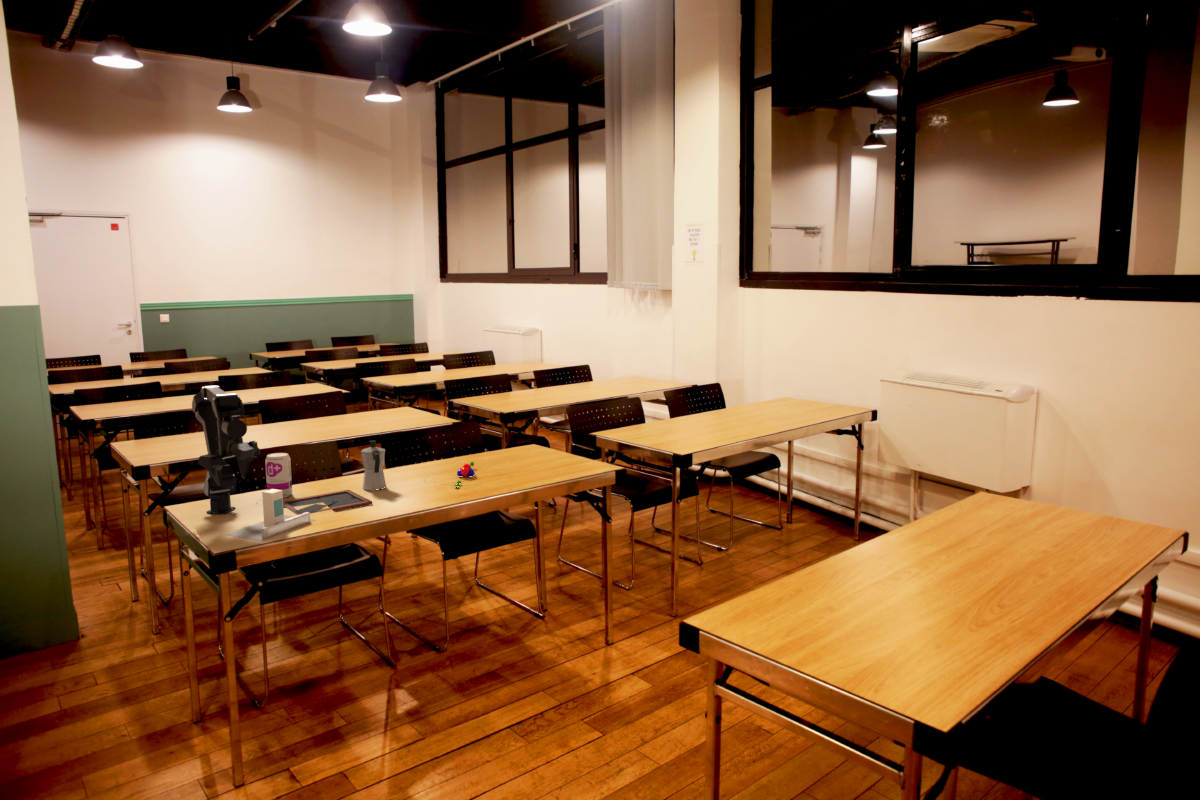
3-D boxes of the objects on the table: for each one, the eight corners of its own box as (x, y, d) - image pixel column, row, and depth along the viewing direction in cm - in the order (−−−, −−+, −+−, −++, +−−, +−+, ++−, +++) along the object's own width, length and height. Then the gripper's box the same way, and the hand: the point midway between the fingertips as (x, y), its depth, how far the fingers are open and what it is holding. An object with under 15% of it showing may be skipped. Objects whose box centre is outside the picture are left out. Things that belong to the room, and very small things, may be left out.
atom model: (502, 493, 283) (502, 479, 282) (410, 488, 283) (410, 474, 282) (514, 467, 317) (514, 454, 316) (433, 463, 317) (433, 450, 316)
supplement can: (283, 499, 267) (281, 457, 265) (262, 498, 268) (260, 456, 266) (297, 493, 275) (294, 453, 272) (276, 492, 276) (274, 451, 274)
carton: (264, 528, 231) (262, 491, 230) (274, 524, 235) (272, 488, 233) (274, 530, 230) (272, 493, 228) (284, 526, 234) (282, 490, 232)
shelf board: (225, 537, 226) (225, 534, 225) (282, 517, 246) (282, 514, 246) (260, 544, 220) (260, 540, 220) (315, 523, 240) (315, 520, 240)
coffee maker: (359, 485, 286) (357, 438, 284) (382, 482, 290) (381, 436, 288) (366, 494, 273) (364, 445, 271) (391, 492, 277) (389, 443, 275)
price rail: (261, 538, 223) (261, 528, 222) (307, 521, 239) (306, 511, 239) (265, 538, 222) (264, 528, 222) (310, 521, 238) (310, 512, 238)
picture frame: (298, 520, 245) (372, 506, 261) (298, 514, 245) (372, 500, 261) (278, 506, 260) (348, 494, 276) (277, 501, 260) (348, 488, 276)
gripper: (222, 441, 225) (225, 492, 227) (271, 430, 242) (274, 478, 244) (195, 438, 229) (198, 488, 232) (245, 427, 246) (248, 474, 249)
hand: (231, 482), depth 239 cm, fingers open, 9 cm apart
